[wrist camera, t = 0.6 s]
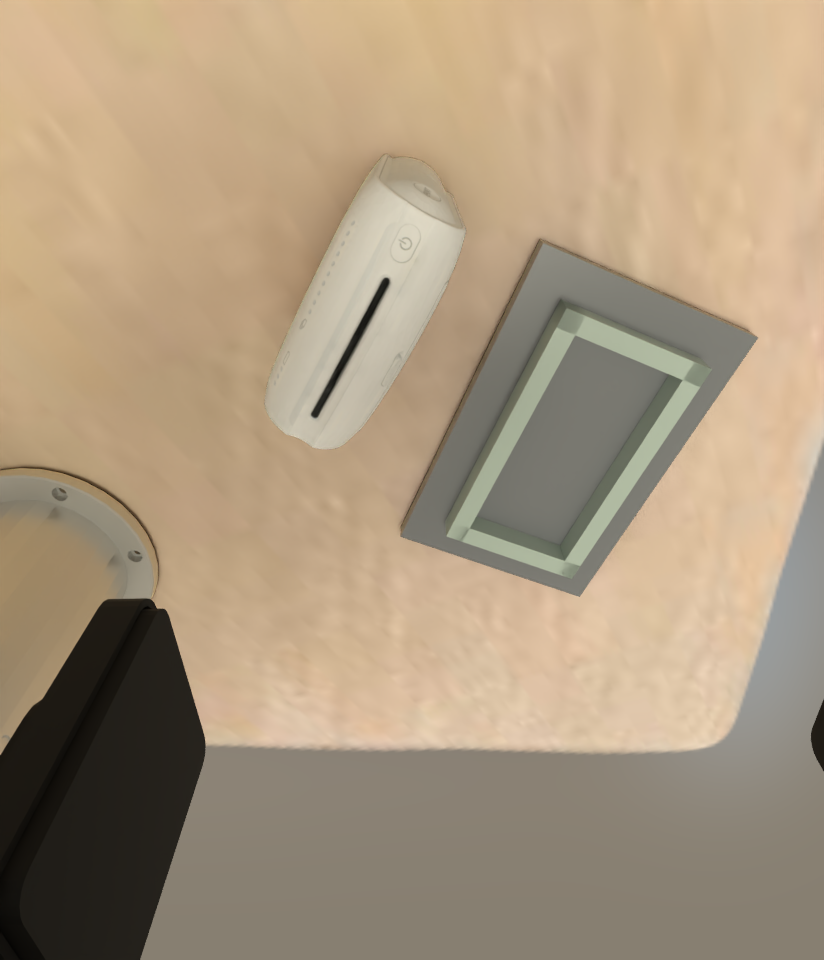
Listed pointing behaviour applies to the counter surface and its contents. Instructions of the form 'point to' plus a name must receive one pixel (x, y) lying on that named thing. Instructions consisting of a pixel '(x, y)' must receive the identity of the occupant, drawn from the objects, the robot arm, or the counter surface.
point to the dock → (571, 420)
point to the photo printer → (366, 304)
